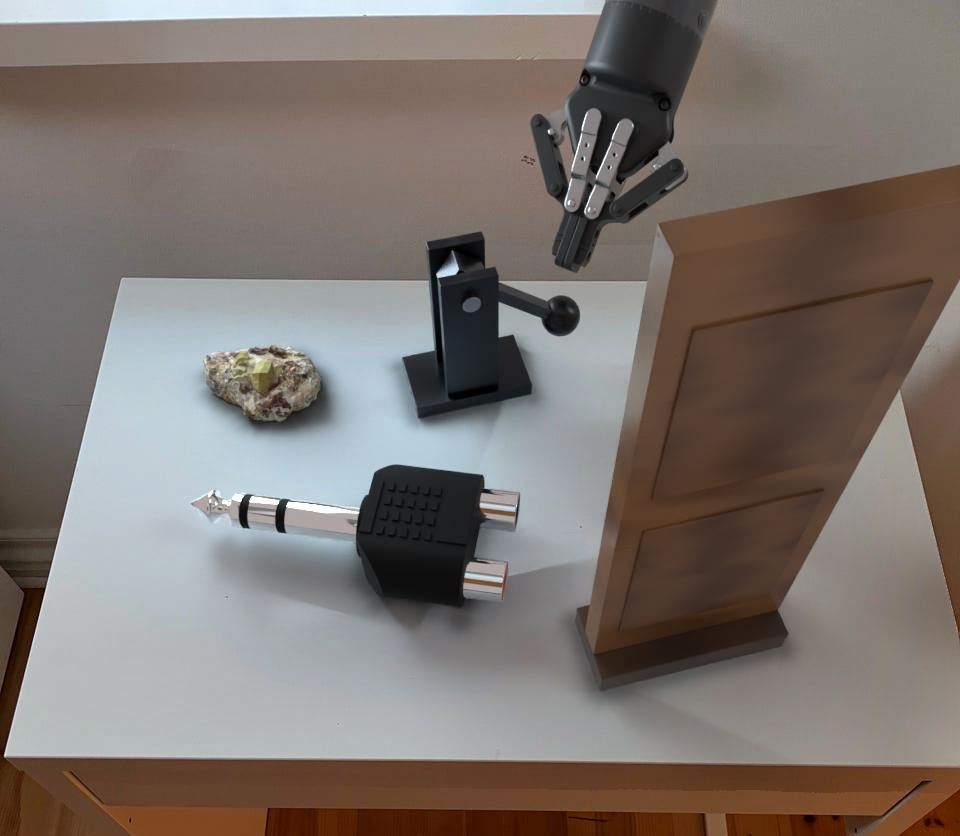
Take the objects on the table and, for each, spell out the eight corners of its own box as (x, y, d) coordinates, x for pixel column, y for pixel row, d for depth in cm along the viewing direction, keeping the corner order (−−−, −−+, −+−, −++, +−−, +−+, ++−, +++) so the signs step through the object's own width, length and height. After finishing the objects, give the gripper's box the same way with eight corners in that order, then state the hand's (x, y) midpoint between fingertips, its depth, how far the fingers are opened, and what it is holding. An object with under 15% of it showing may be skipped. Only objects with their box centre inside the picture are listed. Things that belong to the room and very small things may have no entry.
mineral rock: (336, 340, 79) (298, 388, 74) (341, 385, 82) (304, 434, 77) (222, 320, 81) (176, 365, 76) (230, 364, 84) (187, 411, 79)
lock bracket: (513, 344, 82) (515, 219, 70) (532, 394, 79) (537, 272, 68) (402, 366, 81) (387, 243, 69) (417, 418, 78) (404, 299, 67)
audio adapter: (500, 589, 64) (156, 543, 66) (500, 625, 69) (179, 581, 71) (522, 464, 69) (202, 425, 71) (521, 506, 74) (220, 469, 76)
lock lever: (557, 322, 79) (581, 293, 77) (568, 349, 77) (592, 320, 75) (431, 273, 71) (453, 240, 69) (441, 302, 70) (463, 269, 68)
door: (750, 578, 70) (961, 128, 38) (782, 646, 68) (1036, 223, 36) (574, 620, 69) (640, 189, 37) (599, 691, 66) (693, 293, 34)
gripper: (747, 65, 68) (652, 303, 74) (584, 17, 71) (507, 249, 77) (735, 26, 61) (632, 291, 67) (556, -25, 64) (473, 232, 70)
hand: (565, 268), depth 72 cm, fingers closed
